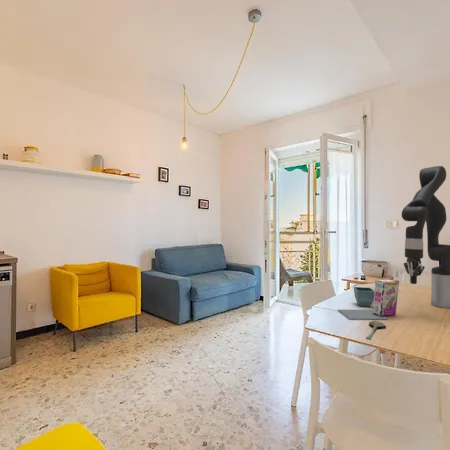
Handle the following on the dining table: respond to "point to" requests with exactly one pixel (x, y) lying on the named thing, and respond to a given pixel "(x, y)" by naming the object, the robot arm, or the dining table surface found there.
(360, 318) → the mat
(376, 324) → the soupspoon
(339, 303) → the dining table surface
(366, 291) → the flower pot
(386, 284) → the candy bar box
